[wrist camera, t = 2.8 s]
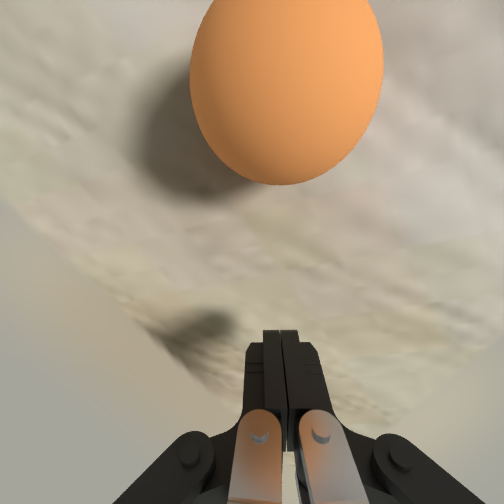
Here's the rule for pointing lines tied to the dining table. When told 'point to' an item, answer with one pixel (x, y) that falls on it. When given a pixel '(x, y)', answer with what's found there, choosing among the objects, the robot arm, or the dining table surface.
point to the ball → (285, 84)
